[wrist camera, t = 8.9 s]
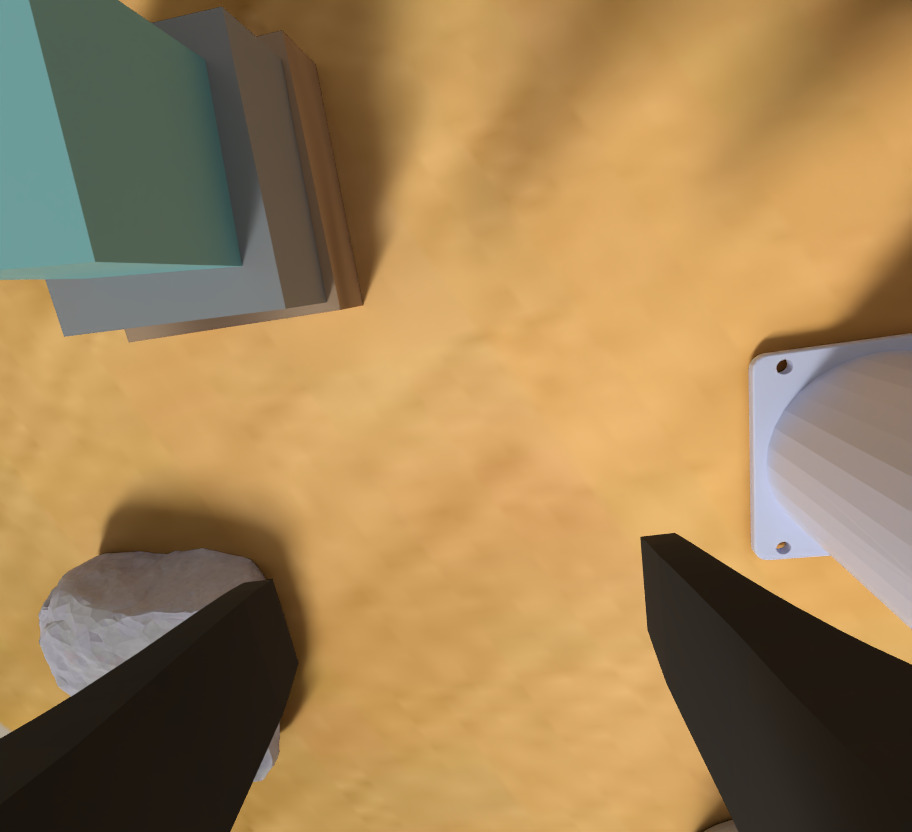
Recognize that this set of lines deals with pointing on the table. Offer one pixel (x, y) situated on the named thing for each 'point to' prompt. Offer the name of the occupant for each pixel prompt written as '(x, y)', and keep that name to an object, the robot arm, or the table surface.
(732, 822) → the cupcake
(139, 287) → the grey block
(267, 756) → the stone block
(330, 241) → the walnut slab
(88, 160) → the teal cube
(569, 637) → the table surface
